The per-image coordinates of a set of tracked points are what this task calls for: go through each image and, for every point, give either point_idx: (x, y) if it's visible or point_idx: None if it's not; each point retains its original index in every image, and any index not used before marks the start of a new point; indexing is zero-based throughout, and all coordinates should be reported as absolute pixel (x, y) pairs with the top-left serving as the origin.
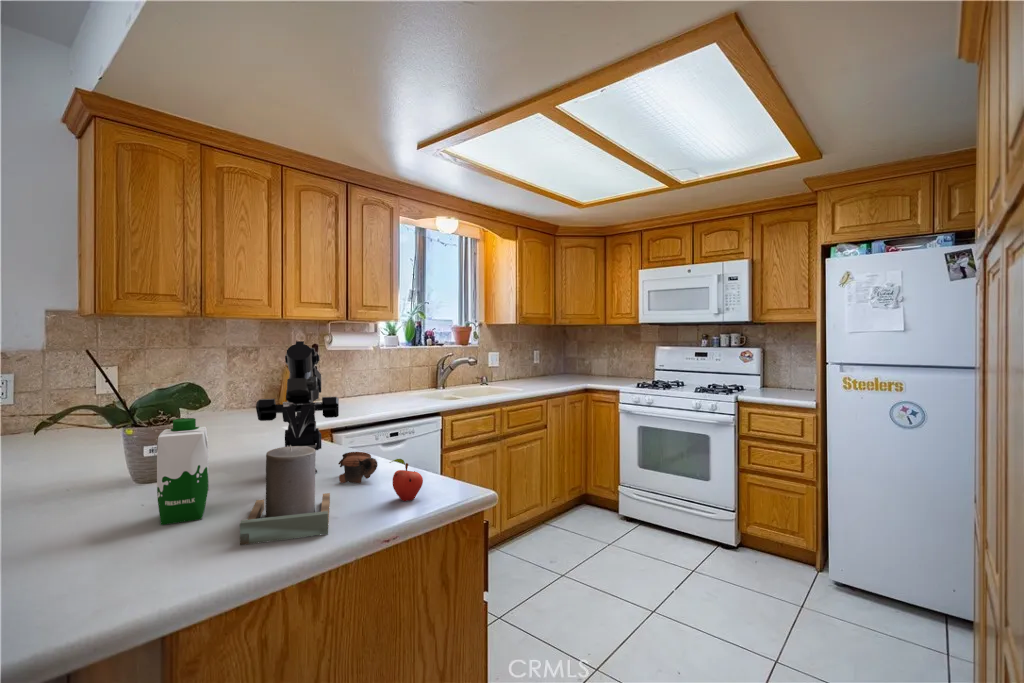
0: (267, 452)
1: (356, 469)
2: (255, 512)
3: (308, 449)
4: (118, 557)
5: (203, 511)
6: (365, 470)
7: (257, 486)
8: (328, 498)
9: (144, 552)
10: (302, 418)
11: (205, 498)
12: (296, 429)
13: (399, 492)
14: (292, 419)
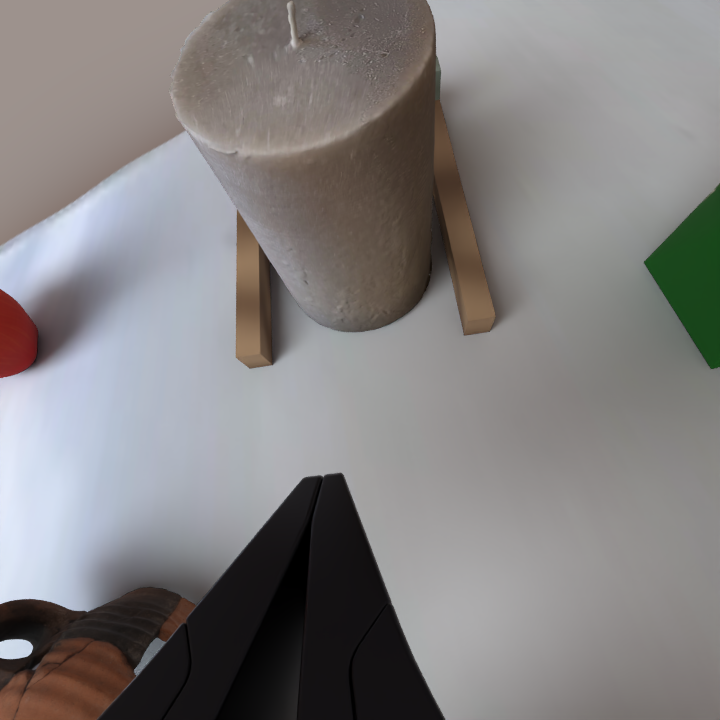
0: (428, 13)
1: (89, 625)
2: (450, 206)
3: (205, 83)
4: (700, 68)
5: (666, 279)
6: (54, 627)
7: (631, 679)
8: (239, 301)
9: (653, 87)
10: (155, 713)
11: (687, 245)
12: (320, 521)
13: (20, 305)
14: (377, 684)
